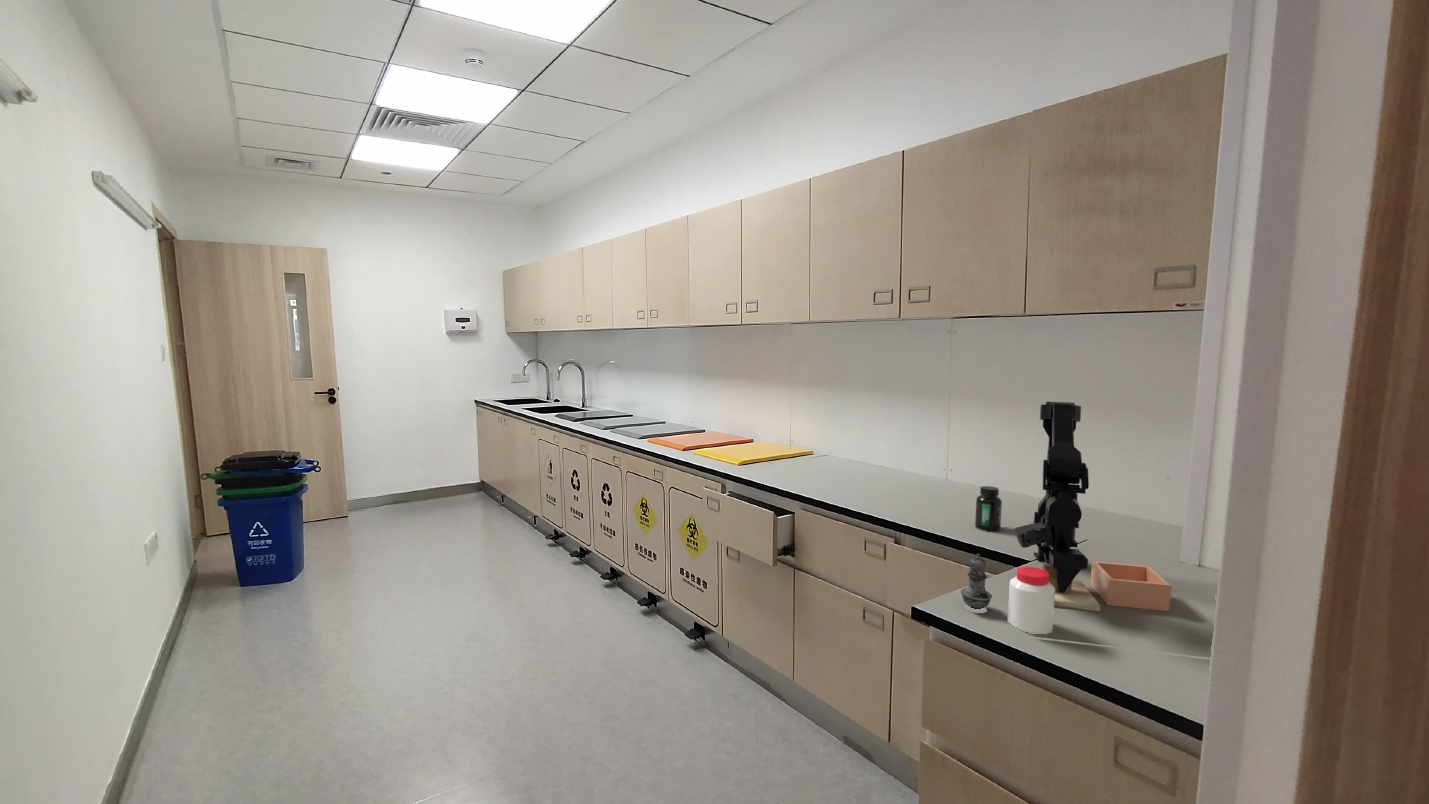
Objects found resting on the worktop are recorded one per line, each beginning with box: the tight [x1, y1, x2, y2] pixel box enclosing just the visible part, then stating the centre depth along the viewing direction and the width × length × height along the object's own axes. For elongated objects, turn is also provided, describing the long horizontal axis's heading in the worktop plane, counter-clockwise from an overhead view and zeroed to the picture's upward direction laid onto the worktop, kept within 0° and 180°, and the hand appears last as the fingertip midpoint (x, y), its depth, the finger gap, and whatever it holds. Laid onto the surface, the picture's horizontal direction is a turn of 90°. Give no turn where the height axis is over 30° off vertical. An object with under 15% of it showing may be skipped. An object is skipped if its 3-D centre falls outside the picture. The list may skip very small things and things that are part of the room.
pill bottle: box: [1007, 566, 1055, 635], centre depth 117 cm, size 8×8×11 cm
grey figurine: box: [960, 553, 993, 609], centre depth 125 cm, size 6×6×12 cm
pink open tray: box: [1090, 560, 1172, 612], centre depth 131 cm, size 11×11×6 cm
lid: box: [1042, 562, 1101, 611], centre depth 132 cm, size 13×13×6 cm
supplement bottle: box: [974, 485, 1003, 532], centre depth 179 cm, size 7×7×12 cm
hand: (1056, 585), depth 132 cm, fingers open, 7 cm apart
